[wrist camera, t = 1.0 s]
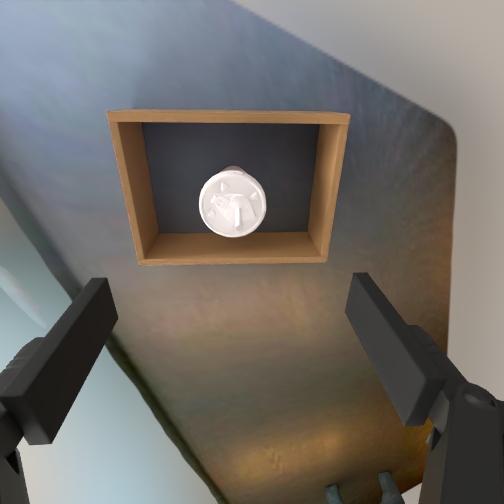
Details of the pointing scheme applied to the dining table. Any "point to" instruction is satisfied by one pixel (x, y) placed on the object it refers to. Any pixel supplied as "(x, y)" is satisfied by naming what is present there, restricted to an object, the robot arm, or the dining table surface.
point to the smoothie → (232, 203)
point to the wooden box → (212, 244)
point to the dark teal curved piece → (391, 495)
